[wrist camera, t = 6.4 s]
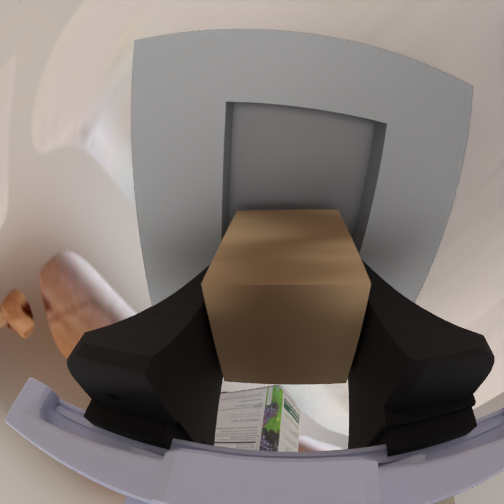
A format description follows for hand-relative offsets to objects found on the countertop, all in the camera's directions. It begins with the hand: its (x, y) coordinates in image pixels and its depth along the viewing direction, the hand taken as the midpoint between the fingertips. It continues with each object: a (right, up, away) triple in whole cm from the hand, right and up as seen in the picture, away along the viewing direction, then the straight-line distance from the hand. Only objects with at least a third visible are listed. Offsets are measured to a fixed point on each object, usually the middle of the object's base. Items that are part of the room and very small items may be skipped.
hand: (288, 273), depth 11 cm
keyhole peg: (0, +2, +2) cm, 2 cm away
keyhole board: (0, +2, +2) cm, 3 cm away
